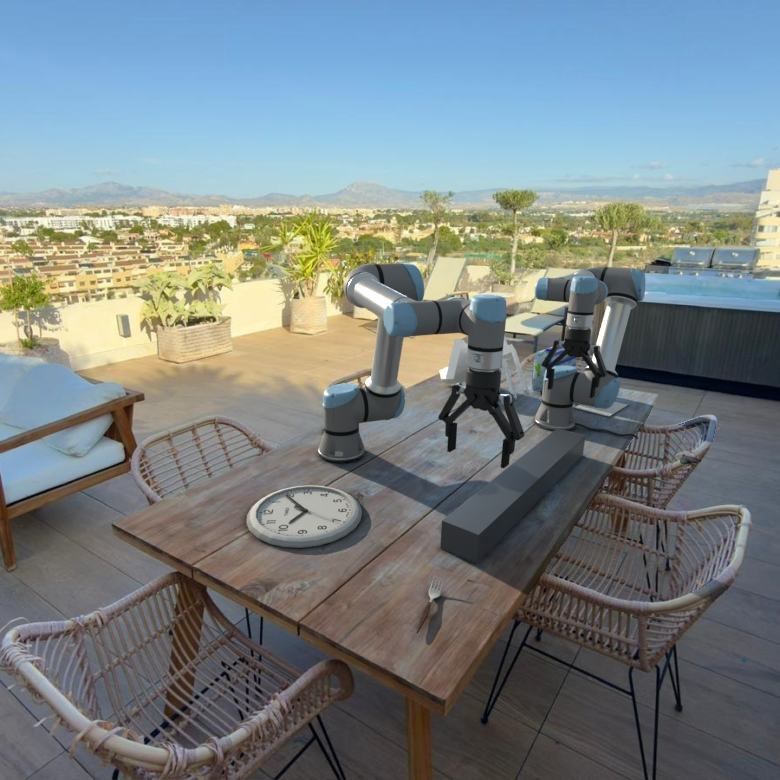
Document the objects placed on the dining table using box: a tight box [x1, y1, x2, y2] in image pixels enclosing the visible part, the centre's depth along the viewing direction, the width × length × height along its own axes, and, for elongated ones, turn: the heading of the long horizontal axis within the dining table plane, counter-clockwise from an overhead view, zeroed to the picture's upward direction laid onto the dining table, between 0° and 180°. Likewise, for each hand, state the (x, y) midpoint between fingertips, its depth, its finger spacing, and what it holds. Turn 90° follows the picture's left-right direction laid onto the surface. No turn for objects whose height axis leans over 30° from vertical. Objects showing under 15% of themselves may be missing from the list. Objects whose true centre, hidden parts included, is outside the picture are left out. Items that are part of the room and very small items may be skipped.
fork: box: [416, 574, 445, 635], centre depth 104 cm, size 3×16×2 cm, turn 160°
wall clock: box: [246, 484, 363, 549], centre depth 137 cm, size 30×2×30 cm
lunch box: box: [531, 345, 577, 393], centre depth 245 cm, size 26×11×21 cm, turn 134°
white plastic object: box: [438, 334, 531, 400], centre depth 245 cm, size 37×45×31 cm
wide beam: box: [439, 428, 587, 564], centre depth 150 cm, size 76×10×8 cm, turn 143°
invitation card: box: [573, 401, 629, 418], centre depth 226 cm, size 21×1×15 cm
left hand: (477, 457), depth 119 cm, fingers open, 13 cm apart
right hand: (570, 392), depth 168 cm, fingers open, 13 cm apart
